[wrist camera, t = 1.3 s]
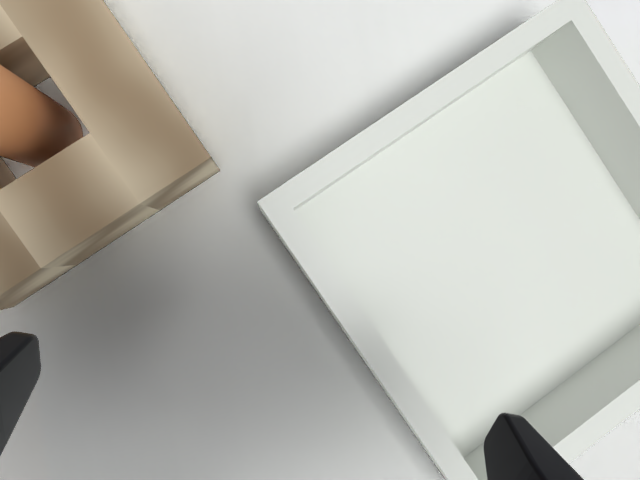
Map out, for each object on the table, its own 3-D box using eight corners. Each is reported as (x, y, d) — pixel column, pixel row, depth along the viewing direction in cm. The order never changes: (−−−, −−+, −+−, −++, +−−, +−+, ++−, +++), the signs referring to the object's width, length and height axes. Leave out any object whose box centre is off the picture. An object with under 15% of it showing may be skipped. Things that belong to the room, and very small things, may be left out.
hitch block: (13, 307, 22) (-36, 318, 18) (-137, 100, 21) (-216, 71, 18) (220, 170, 23) (210, 157, 19) (82, -31, 22) (46, -82, 19)
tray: (447, 483, 24) (483, 531, 20) (259, 209, 23) (257, 201, 19) (696, 293, 25) (777, 302, 21) (527, 29, 24) (576, -14, 20)
